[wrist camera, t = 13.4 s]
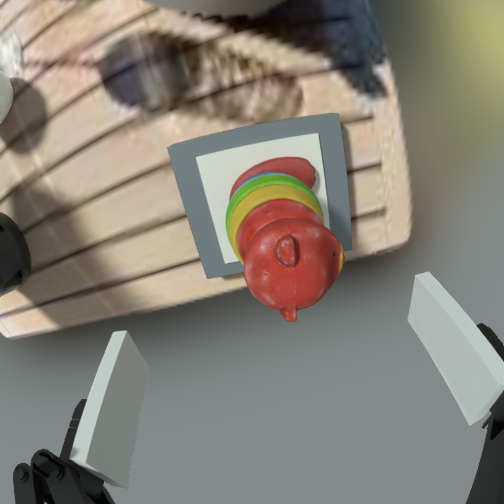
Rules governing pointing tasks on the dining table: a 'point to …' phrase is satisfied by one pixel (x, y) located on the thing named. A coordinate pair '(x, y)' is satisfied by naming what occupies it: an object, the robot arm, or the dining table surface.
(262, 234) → the stacking bear
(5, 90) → the lidded jar
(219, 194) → the slate plinth
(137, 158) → the dining table surface
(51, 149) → the dining table surface
